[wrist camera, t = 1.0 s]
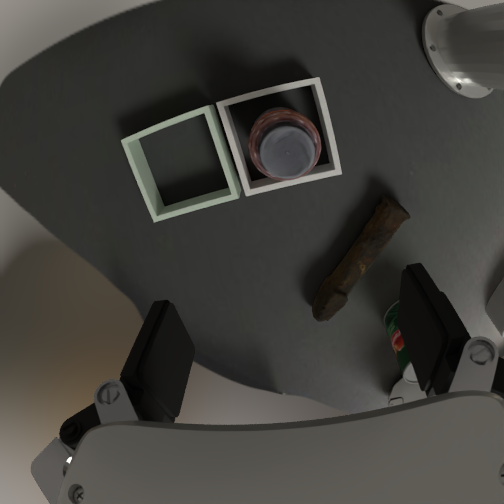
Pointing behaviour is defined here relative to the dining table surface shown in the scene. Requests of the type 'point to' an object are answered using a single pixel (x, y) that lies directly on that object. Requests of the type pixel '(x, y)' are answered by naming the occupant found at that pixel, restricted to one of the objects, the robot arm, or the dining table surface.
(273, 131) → the supplement bottle
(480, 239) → the dining table surface
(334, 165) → the grey bin
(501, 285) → the lumpy-topped squat cylinder
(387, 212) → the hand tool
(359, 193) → the dining table surface
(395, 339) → the canned tomato
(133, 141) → the sage bin
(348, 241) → the dining table surface
